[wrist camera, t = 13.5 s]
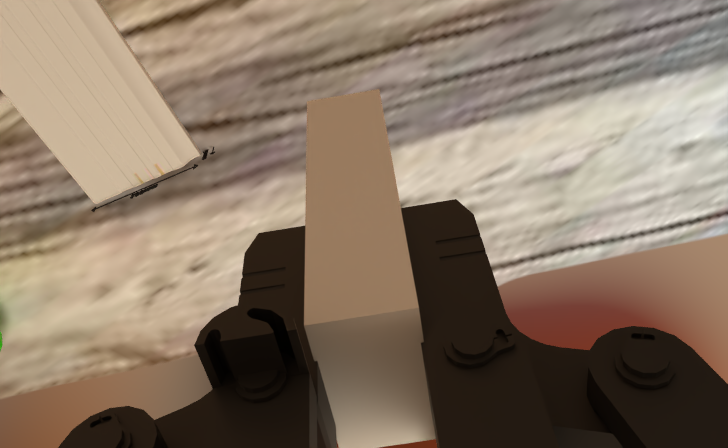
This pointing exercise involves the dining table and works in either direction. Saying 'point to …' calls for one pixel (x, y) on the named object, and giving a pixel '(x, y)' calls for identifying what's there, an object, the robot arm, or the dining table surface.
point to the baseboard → (89, 96)
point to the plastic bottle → (0, 340)
